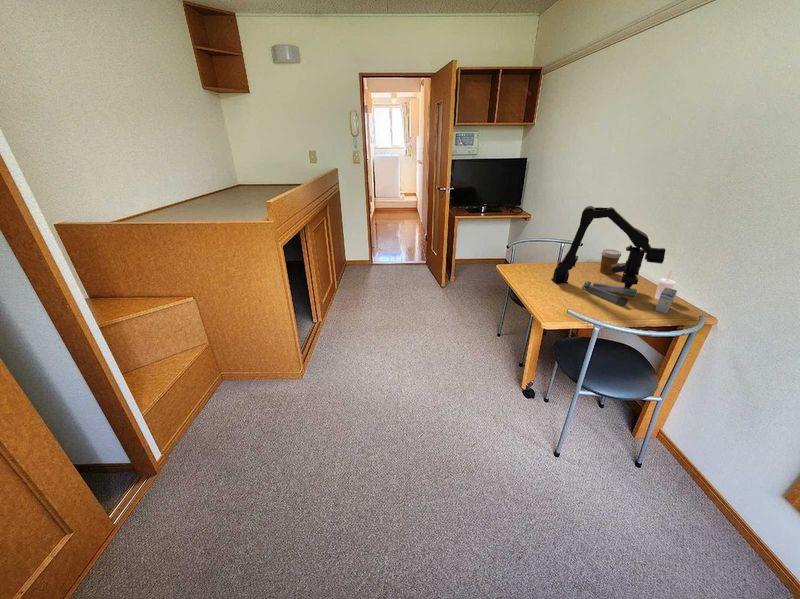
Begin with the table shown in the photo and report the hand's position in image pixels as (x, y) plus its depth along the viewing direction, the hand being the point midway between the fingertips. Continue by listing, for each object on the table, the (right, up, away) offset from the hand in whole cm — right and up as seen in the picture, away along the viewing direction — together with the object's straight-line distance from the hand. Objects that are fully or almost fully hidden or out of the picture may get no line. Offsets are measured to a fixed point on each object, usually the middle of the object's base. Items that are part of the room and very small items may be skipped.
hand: (625, 290), depth 163 cm
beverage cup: (+12, -4, -6) cm, 14 cm away
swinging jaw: (-6, -1, +1) cm, 6 cm away
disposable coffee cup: (+5, +11, +24) cm, 27 cm away
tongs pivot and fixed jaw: (-13, -3, -2) cm, 13 cm away
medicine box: (+6, -9, -15) cm, 19 cm away
